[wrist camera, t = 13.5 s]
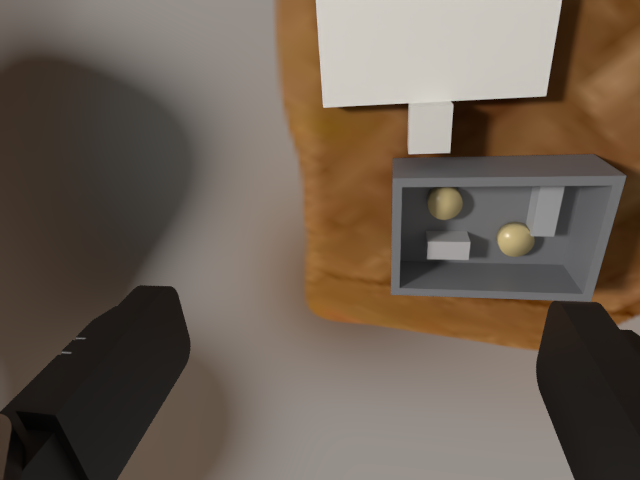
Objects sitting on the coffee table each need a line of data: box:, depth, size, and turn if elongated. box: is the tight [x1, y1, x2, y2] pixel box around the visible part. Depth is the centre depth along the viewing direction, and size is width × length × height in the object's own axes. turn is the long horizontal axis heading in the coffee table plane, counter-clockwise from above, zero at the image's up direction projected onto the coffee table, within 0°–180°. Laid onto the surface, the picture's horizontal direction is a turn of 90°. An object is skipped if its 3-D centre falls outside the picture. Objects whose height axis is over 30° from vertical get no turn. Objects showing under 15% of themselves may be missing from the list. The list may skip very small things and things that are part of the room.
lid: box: [316, 0, 562, 154], centre depth 34 cm, size 17×19×4 cm
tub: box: [391, 154, 626, 302], centre depth 39 cm, size 12×18×6 cm, turn 94°
